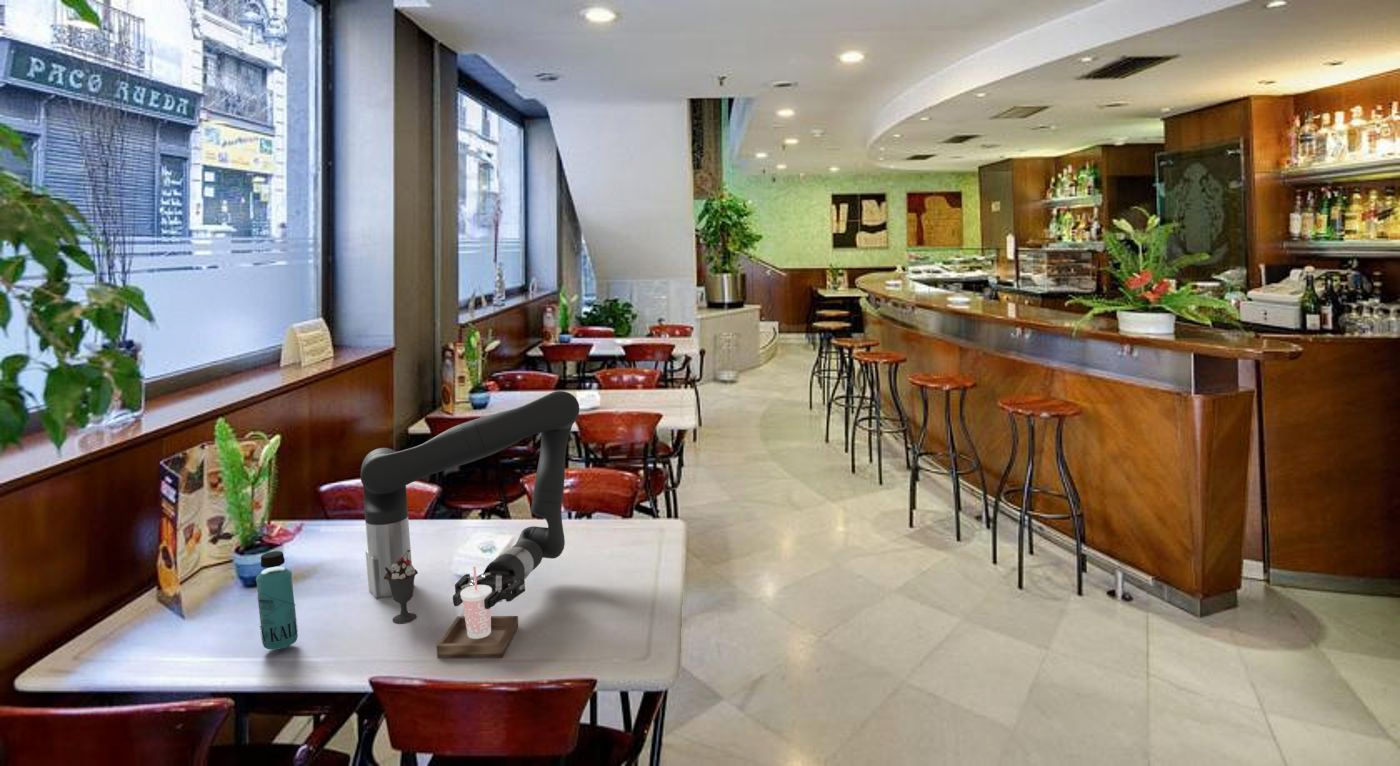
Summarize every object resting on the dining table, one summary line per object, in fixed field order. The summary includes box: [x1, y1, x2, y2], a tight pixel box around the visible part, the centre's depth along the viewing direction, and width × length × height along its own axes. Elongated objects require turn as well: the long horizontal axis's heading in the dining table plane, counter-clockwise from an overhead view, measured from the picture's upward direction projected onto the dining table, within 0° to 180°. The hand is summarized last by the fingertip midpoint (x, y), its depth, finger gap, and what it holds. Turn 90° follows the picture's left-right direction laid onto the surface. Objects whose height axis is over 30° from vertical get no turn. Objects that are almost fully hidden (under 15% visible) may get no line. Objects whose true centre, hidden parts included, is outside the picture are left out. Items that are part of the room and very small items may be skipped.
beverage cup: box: [460, 566, 492, 639], centre depth 158 cm, size 6×6×14 cm
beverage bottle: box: [255, 550, 299, 650], centre depth 156 cm, size 6×7×20 cm
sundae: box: [384, 550, 419, 624], centre depth 169 cm, size 7×7×15 cm
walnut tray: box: [436, 615, 519, 659], centre depth 159 cm, size 13×13×3 cm
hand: (470, 603), depth 156 cm, fingers closed on beverage cup, 6 cm apart
